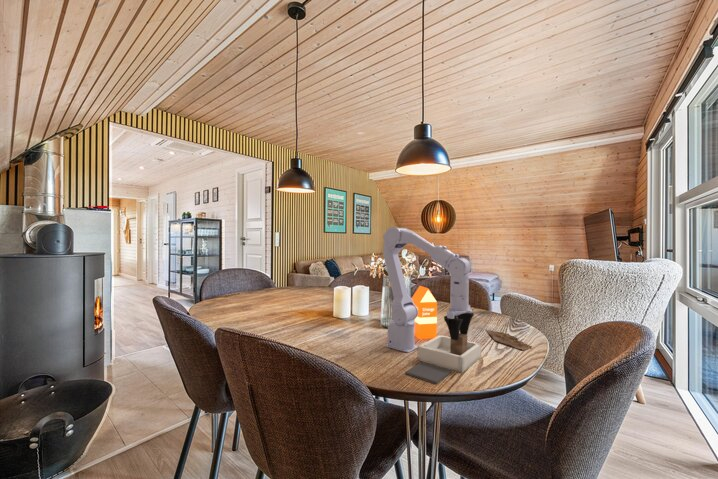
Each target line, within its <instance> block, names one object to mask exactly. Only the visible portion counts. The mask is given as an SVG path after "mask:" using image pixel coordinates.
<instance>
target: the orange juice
mask: <svg viewBox="0 0 718 479" xmlns="http://www.w3.org/2000/svg"><path fill="white" fill-rule="evenodd" d="M411 298H412V299H413V303H414V305H415V306H416V307H417V309H418V316H417V317H416V318H415V338H417V339H418V340H431V339H433V338H435V337H437V336H438V335H437V330H438V329H437V327H438V326H437V323H438V312H437V311H438V301H437V300H436V298H435V297H434V295H433V294H432V292H431V290H430V289H429V288H428V287H424V286H422V285H419V286H418V288H417V289H416V291H415V292H414V294H413V296H412V297H411Z"/></svg>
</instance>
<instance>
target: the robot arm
mask: <svg viewBox="0 0 718 479" xmlns="http://www.w3.org/2000/svg"><path fill="white" fill-rule="evenodd" d="M382 238H383V247H382V255H383V256H382V257H383V258H384V263H385V268H386V271H387V272H386V273H387V276H388V279H389V283H390V289H391V292H392V297H393V300H392V303H391V304H390V307H391V319H392V321H390V323H388V327H387V344H386V348H389V349H394V350H397V351H401V352H405V353H410V352H412V351H414V350H416V349H418V346H419V345H418V344H415V342H416V340H415V339H416V336H415V318H416V317H417V316H418V309H417V307H416V306H415V305H414V303H413V299H412V297H411V296H410V295H409V293H408V288H407V285H406V281H405V277H404V273H403V272H404V271H403V268H402V265H401V261H400V257H399V254H400V253H401V250H402V249H403V248H404V247H406V245H408V244H410V245H413V246H415V247H416V248H418V249H419V250H421V251H424V252H425V253H427V254H429V256H430V259H431V260H432V261H433V262H435V263H436V264H438V265H439V266H441V267H442V268H444V269H446V270H447V272H448V273H449V274H450V291H449V292H450V294H449V295H450V297H449V299H450V302H449V303H450V304H449V305H450V306H449V307H448V308H449V309H448V310H447V312H446V315H445V316H443V319H444V322H445V323H446V326H447V328H448V333H449V337H451V339H453V340H458V338H459V333H461V334H466V335H467V336H468V332H469V328H470V325H471V321H472V319H473V317H474V314H475V313H474V312H473V309H471V304H469V302H470V301H469V297H470V296H469V294H470V292H469V290H470V289H469V288H470V287H469V286H470V281H469V280H470V278H469V277H470V276H469V275H470V274H469V273H470V272H471V270H472V264H471V262H470V260H468V259H467V258H466V257H460V255H459V253H454V252H452V251H451V250H449V249H448V247H447V246H445V245H437V246H435V245H433V244H432V243H431V242H430V241H428V240H426V239H425V238H424V237H422V236H420V235H419V234H418V233H416V232H415V231H413V230H411V229H409V228H408V227H395V226H391V227H388V228H387V229H386V230H385V232H384V234H383V235H382Z"/></svg>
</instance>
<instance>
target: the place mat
mask: <svg viewBox="0 0 718 479" xmlns="http://www.w3.org/2000/svg"><path fill="white" fill-rule="evenodd" d="M452 373H453V370H451V369H447V368H444V367H440V366H437V365H433V364H430V363H426V362H423V361H420V362H419V363H418V364H416V365H414V366H412V367H411V368H410V369H408V370H406V371H405V373H404V374H405V375H408V376H411V377H413V378H417V379H420V380H424V381H426V382H429V383H433V384H435V385H437V384H439V383H440V382H441V381H443V380H444V379H445V378H447V377H448V376H450V375H451V374H452Z"/></svg>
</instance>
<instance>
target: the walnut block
mask: <svg viewBox="0 0 718 479" xmlns="http://www.w3.org/2000/svg"><path fill="white" fill-rule="evenodd" d="M467 336H468V334H467V335H466V334H461V333H460V332H459V338H458V340H453V339H451V345H450V353H452V354H456V355H462V354H463V353H465V352H466V351H467V341H468V337H467Z"/></svg>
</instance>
